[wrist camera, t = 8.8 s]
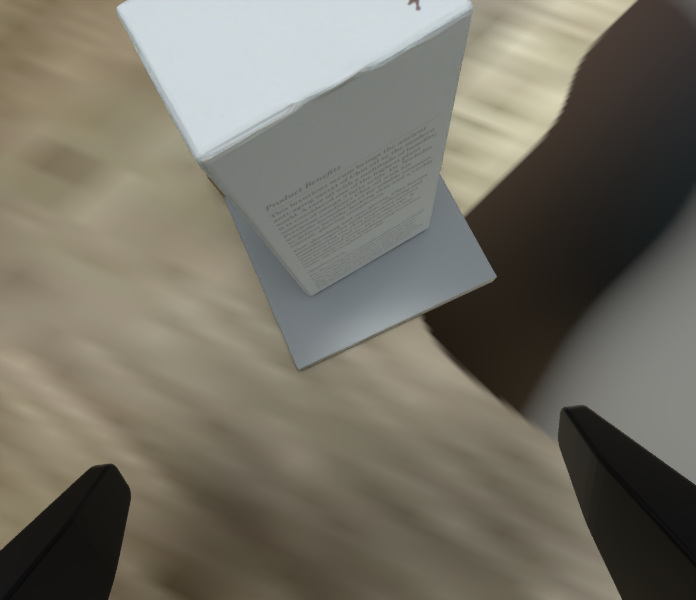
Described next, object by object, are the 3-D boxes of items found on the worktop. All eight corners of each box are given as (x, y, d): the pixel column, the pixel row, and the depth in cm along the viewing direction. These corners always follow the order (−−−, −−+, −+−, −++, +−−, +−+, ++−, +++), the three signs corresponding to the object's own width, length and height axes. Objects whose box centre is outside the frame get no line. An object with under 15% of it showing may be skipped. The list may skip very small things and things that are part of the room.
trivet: (492, 281, 21) (508, 263, 18) (301, 371, 21) (287, 366, 18) (390, 96, 23) (391, 54, 20) (217, 175, 23) (193, 145, 20)
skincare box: (379, 151, 22) (368, -146, 10) (431, 229, 21) (487, 3, 9) (259, 220, 21) (104, 0, 10) (307, 302, 20) (198, 168, 9)
